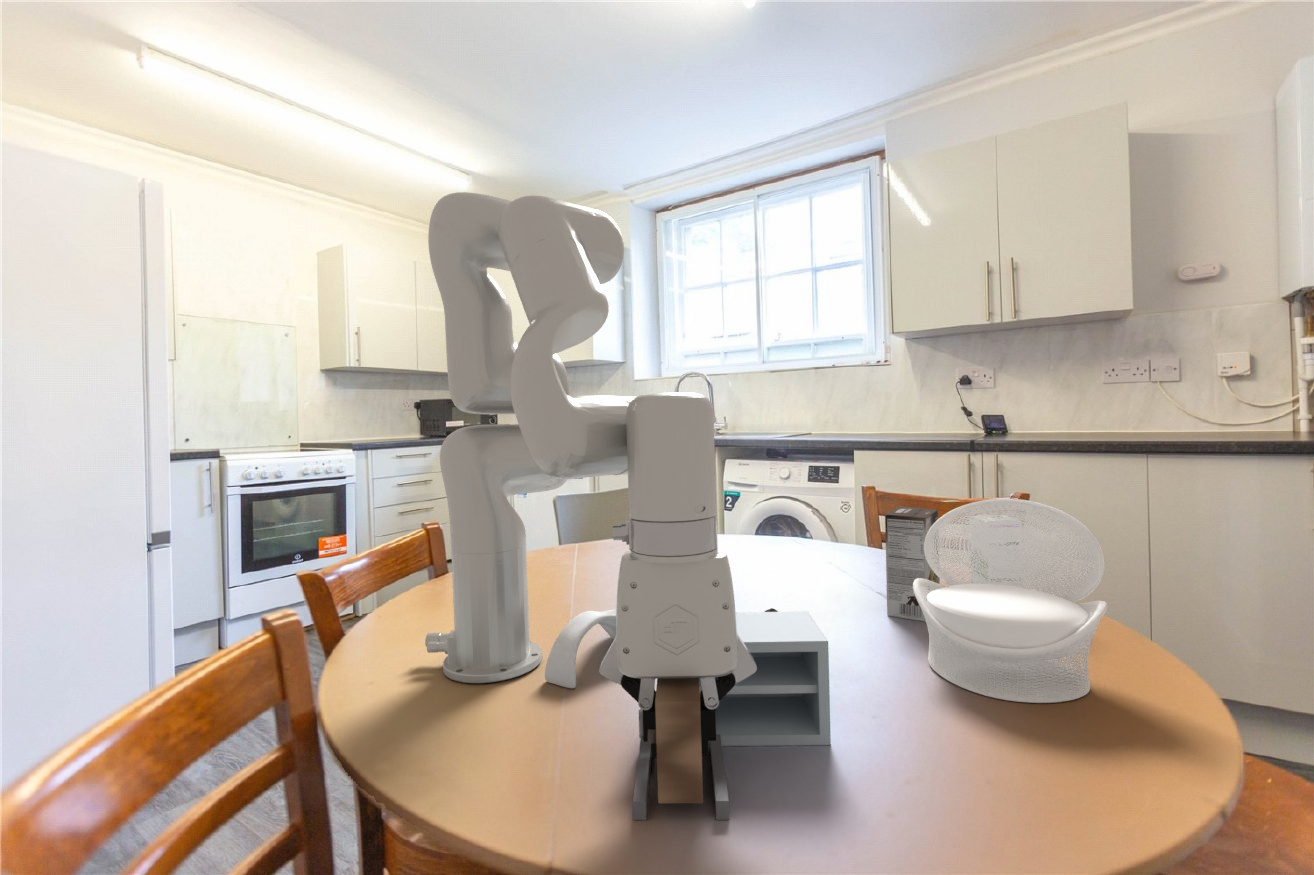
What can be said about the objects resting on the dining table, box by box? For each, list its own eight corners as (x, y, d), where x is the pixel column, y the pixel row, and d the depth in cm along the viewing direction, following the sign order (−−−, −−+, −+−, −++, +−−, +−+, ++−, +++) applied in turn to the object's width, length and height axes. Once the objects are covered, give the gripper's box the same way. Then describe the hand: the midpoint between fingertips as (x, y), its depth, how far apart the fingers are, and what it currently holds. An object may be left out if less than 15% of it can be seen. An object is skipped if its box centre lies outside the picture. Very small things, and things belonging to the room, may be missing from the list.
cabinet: (630, 820, 47) (626, 694, 47) (645, 703, 67) (642, 614, 66) (865, 819, 46) (862, 691, 46) (810, 701, 66) (808, 611, 66)
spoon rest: (632, 623, 95) (630, 578, 94) (697, 635, 88) (696, 587, 88) (524, 679, 75) (522, 622, 74) (598, 700, 68) (596, 638, 68)
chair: (896, 681, 70) (892, 512, 70) (935, 632, 86) (932, 493, 86) (1108, 730, 58) (1105, 525, 58) (1108, 662, 74) (1106, 501, 73)
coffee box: (900, 601, 101) (898, 506, 101) (941, 607, 97) (939, 508, 97) (885, 616, 94) (883, 513, 93) (929, 623, 90) (927, 516, 89)
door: (648, 803, 47) (645, 702, 47) (654, 736, 57) (651, 653, 57) (703, 803, 47) (700, 701, 46) (699, 736, 57) (696, 652, 56)
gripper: (569, 548, 48) (577, 774, 48) (777, 543, 47) (784, 772, 48) (584, 531, 55) (591, 727, 56) (764, 527, 55) (769, 725, 55)
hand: (680, 745), depth 52 cm, fingers closed on door, 3 cm apart
